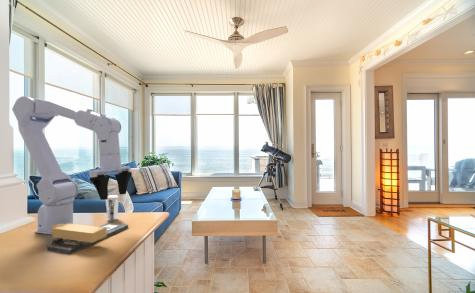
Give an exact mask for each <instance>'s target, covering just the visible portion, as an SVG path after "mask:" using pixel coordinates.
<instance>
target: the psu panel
mask: <svg viewBox="0 0 475 293" xmlns="http://www.w3.org/2000/svg"><path fill="white" fill-rule="evenodd" d="M98 227H104V228H106V237H104V238H102V239H100V240H97V241H95V242H93V243H91V242H84V241H77V240H70V239H63V241H60V242H57V243H53V244H50V245H47V246H46V247H47V248H46V250H47V251H50V252H56V253H63V254H68V255H71V254H73V253H75V252H78V251H81V250H82V249H84V248H87V247H89V246H91V245H93V244H95V243H97V242H100V241H102V240H104V239H107V238H109V237H112V236H114V235H115V234H118V233H120V232H123V231H124V230H126V229H128V228H129V224H124V223H113V222H108V223H105V224H103V225H100V226H98Z"/></svg>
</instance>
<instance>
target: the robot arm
mask: <svg viewBox="0 0 475 293" xmlns="http://www.w3.org/2000/svg"><path fill="white" fill-rule="evenodd" d="M11 111H12V113H13V115H14V117H15V118H16V120H17V125H18V127H17V128H18V131H19V133H20V135H21V138H22V140H23V141H24V144H25V146H26V148H27V150H28V152H29V154H30V156H31V159H32V161H33V163H34V165H35V167H36V169H37V171H38V173H39V175H40V178H41V179H40V180H39V181H38V183H37V184H36V188H37V190H38V193H37V195H38V199H39V201H40V202H41V203H42V204H41V205H40V207H39V208H38V210H37V229H36V230H34V233H37V234H45V235H51V226H53V225H56V224H68V223H69V224H74V201H75V198H76V197H77V196H78V194H79V192H80V189H79V185H78V183H77V182H76V181H74V179H73V178H72V176H71V175H69V174H68V173H66V172H64V171H63V170H62V169H61V166H60V165H59V162H58V161H57V158H56V155H54V151H53V150H52V148H51V145H50V144H49V142H48V139H47V137H46V135H45V133H44V131H43V130H44V129H45V128H46V127H48V125H49V124H50V123H51V122H52V121H53V120H54V118H55V117H59V116H61V117H63V118H67V119H71V120H73V121H74V123H75V125H77V126H79V127H80V128H81V127H82V128H85V129H87V130H90V131H93V132H94V133H95V134H96V136H97V139H98V146H99V160H100V169H93V170H89V171H88V174H89V182H91V184H92V185H93V186H94V188H95V190H96V191H97V194H98V196H99V200H103V201H106V199H108V196H109V188H108V186H109V181H110V176H107V175H114V177H115V180H116V183H117V188H118V195H119V194H120V195H126V194H127V191H128V190H127V189H128V185H129V182H130V178H131V176H132V171H131V166H130V165H125V166H122V161H121V149H120V138H119V134H120V132H121V131H122V124H121V122H120V121H119V120H118V119H116V118H114V117H107V116H106V115H107V114H104V113H97V112H94V110H93V109H91V108H87V107H86V108H83V109H82V108H81V109H79V110H77V109H74V108H72V107H69V106H66V105H63V104H61V103H59V102H54V101H50V100H45V99H40V98H35V97H33V98H32V97H29V96H25V95H23V96H20V97H18V98H17V99H16V100H15V102H14V104H13V106H12V109H11Z"/></svg>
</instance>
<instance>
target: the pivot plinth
mask: <svg viewBox="0 0 475 293" xmlns="http://www.w3.org/2000/svg"><path fill="white" fill-rule="evenodd" d="M63 240H64V239H63V238H56V237H53V236H52V243H53V244H55V243H57V242H60V241H63Z"/></svg>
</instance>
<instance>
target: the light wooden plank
mask: <svg viewBox="0 0 475 293" xmlns="http://www.w3.org/2000/svg"><path fill="white" fill-rule="evenodd" d="M50 235H51V236H52V238H53V237H56V238H63V240H65V239H70V240H77V241H84V242H91V243H93V242H95V241H97V240H100V239H102V238H104V237H106V228H104V227H99V226H93V225H84V224H76V223H73V224H69V223H68V224H56V225H53V226H51V234H50ZM102 240H103V239H102ZM100 241H101V240H100ZM93 244H94V243H93Z"/></svg>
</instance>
